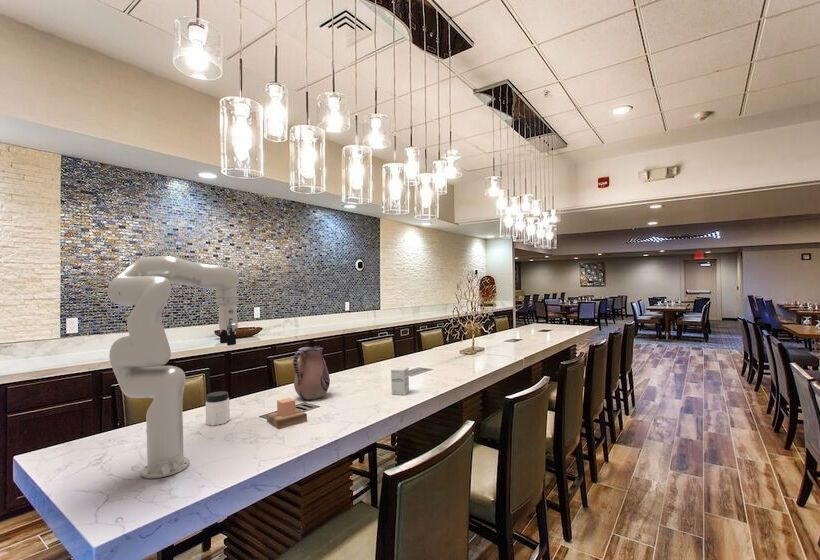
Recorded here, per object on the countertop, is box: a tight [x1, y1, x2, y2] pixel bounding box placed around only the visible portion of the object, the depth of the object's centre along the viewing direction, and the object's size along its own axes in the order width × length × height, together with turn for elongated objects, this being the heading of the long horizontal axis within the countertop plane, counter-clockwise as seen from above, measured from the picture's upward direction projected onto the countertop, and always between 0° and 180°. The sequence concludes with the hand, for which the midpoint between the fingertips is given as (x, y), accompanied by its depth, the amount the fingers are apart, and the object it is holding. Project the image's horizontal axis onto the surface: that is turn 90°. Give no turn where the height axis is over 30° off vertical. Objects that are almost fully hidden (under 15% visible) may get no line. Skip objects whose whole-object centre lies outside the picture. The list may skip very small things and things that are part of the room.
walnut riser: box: [266, 408, 308, 429], centre depth 160 cm, size 12×12×3 cm
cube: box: [276, 397, 297, 417], centre depth 160 cm, size 6×6×6 cm
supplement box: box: [390, 366, 410, 396], centre depth 197 cm, size 7×7×13 cm
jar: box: [205, 390, 231, 427], centre depth 163 cm, size 9×8×12 cm
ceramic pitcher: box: [292, 346, 331, 401], centre depth 194 cm, size 18×21×25 cm
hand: (228, 344), depth 157 cm, fingers open, 9 cm apart
